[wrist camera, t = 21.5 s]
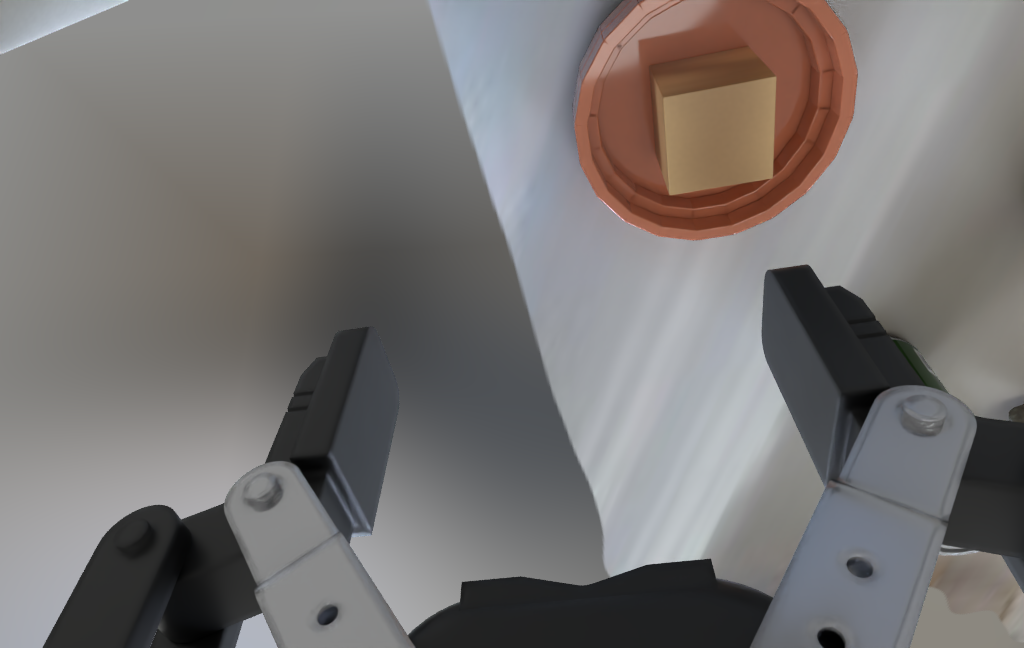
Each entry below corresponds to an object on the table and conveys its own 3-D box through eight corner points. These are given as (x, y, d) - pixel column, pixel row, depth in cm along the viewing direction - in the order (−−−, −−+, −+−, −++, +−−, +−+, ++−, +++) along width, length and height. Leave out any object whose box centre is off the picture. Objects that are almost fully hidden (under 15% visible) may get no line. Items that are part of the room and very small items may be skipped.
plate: (590, 228, 36) (594, 256, 34) (554, -11, 29) (555, 4, 27) (821, 191, 34) (842, 218, 32) (844, -74, 27) (873, -64, 25)
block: (655, 155, 33) (669, 196, 29) (648, 65, 30) (662, 97, 27) (747, 139, 32) (773, 178, 29) (748, 45, 30) (776, 76, 26)
